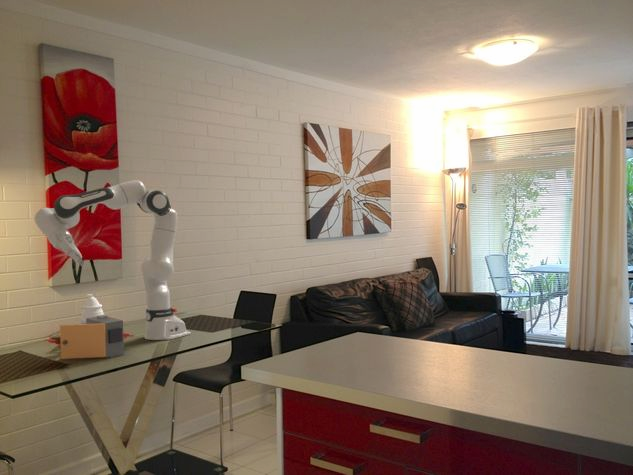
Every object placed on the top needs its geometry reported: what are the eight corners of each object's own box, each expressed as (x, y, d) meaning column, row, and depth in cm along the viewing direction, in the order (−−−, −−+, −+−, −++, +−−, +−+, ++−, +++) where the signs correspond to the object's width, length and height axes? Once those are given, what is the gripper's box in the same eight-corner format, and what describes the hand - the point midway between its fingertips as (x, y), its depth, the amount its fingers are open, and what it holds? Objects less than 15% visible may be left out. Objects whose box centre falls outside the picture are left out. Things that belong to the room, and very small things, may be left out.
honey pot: (97, 330, 315) (95, 296, 314) (75, 329, 317) (73, 295, 316) (110, 325, 327) (109, 292, 326) (89, 324, 330) (87, 292, 329)
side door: (62, 357, 253) (60, 324, 252) (106, 356, 254) (105, 323, 254) (60, 359, 250) (58, 326, 249) (104, 357, 252) (103, 324, 251)
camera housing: (104, 348, 273) (103, 313, 272) (125, 355, 260) (124, 318, 259) (87, 351, 267) (86, 315, 266) (107, 358, 254) (106, 321, 253)
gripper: (60, 228, 256) (80, 252, 254) (73, 240, 276) (92, 263, 274) (47, 237, 255) (67, 262, 253) (61, 249, 274) (80, 272, 272)
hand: (80, 262), depth 264 cm, fingers open, 8 cm apart
